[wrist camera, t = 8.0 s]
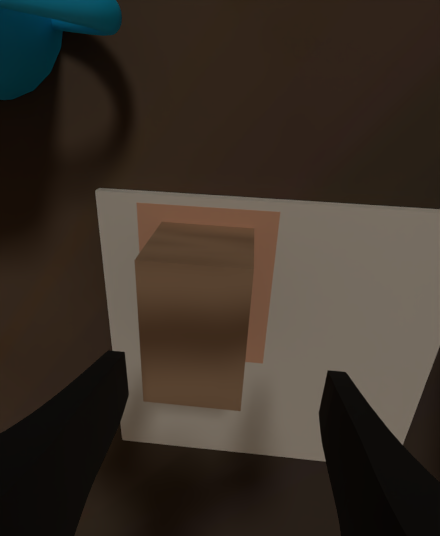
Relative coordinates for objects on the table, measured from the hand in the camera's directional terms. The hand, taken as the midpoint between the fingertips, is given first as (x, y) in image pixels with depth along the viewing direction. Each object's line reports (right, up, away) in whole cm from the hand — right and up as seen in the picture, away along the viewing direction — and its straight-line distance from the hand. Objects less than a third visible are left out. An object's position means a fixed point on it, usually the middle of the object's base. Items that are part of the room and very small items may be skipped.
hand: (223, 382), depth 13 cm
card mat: (+3, -1, +10) cm, 11 cm away
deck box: (-1, +3, +8) cm, 9 cm away
